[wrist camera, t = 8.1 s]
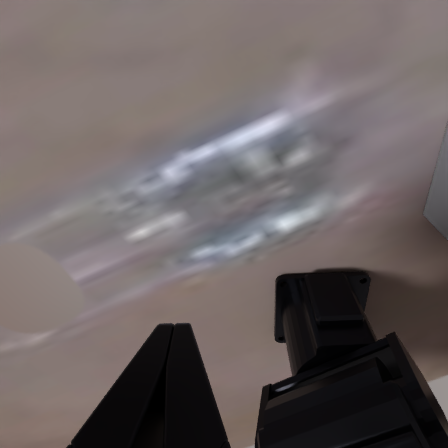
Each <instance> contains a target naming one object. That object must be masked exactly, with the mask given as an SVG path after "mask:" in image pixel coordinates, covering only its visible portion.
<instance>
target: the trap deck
mask: <svg viewBox="0 0 448 448" xmlns="http://www.w3.org/2000/svg"><path fill="white" fill-rule="evenodd" d="M423 215H424V216H425V217H426V218H427V219H428V220H429V221H430V223H431V224H432V225H433V226H434V227H435V228H436V229H437V230H438V231H439V232H440V233H441V234H442V235H443V236H444V237H445V238H446V239H447V240H448V123H447V127H446V130H445V134H444V138H443V141H442V145H441V149H440V153H439V156H438V160H437V164H436V168H435V171H434V175H433V179H432V182H431V186H430V190H429V194H428V197H427V201H426V205H425V208H424V212H423Z"/></svg>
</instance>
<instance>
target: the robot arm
mask: <svg viewBox="0 0 448 448" xmlns="http://www.w3.org/2000/svg"><path fill="white" fill-rule="evenodd" d="M362 278H364V279H363V280H360V279H362ZM370 281H371V279H370V277H369V275H368V273H366V272H363V271H362V272H340V273H318V274H296V275H281V276H278V277H277V278H276V281H275V326H274V336H275V341H276V342H278V343H286V345H287V351H288V356H289V362H290V367H291V372H292V377H289V378H287V379H284V380H282V381H280V382H277V383H275V384H268V385H266V386H264V387H263V388H262V395H261V402H260V409H259V416H258V423H257V430H256V437H255V448H448V421H447V419H446V417H445V415H444V412H443V410H442V409H441V406H440V405H439V404H438V401H437V399H436V398H435V396H434V394H433V392H432V391H431V389H430V387H429V385H428V383H427V382H426V380H425V378H424V376H423V375H422V373H421V371H420V370H419V368H418V367H417V365H416V364H415V362H414V361H413V359H412V358H411V356H410V355H409V353H408V352H407V350H406V348H405V347H404V345H403V344H402V342H401V341H400V339H399V338H398V336H397V335H396V333H395V332H393V333H390V334H388V335H386V337H385V338H383V339H381V340H378V341H377V339H376V336H375V334H374V332H373V330H372V328H371V326H370V323H369V321H368V319H367V317H366V315H365V313H364V310H365V306H366V301H367V296H368V291H369V286H370ZM281 282H285V283H281ZM280 336H282V337H280ZM66 448H231V447H230V443H229V442H228V438H227V435H226V432H225V429H224V426H223V422H222V419H221V416H220V413H219V410H218V407H217V404H216V401H215V398H214V395H213V392H212V388H211V385H210V382H209V379H208V376H207V373H206V370H205V367H204V364H203V361H202V358H201V354H200V351H199V348H198V345H197V342H196V339H195V336H194V333H193V330H192V327H191V324H190V323H176V324H175V325H174V324H172V323H164V324H159V325H157V326H156V328H155V329H154V330H153V332H152V333H151V334H150V336H149V337H148V339H147V340H146V341H145V343H144V344H143V345H142V347H141V348H140V349H139V351H138V352H137V353H136V355H135V356H134V357H133V359H132V360H131V361H130V363H129V364H128V365H127V367H126V368H125V370H124V371H123V372H122V374H121V375H120V376H119V378H118V379H117V380H116V382H115V383H114V384H113V386H112V387H111V388H110V390H109V391H108V392H107V394H106V395H105V396H104V398H103V399H102V400H101V402H100V403H99V405H98V406H97V407H96V409H95V410H94V411H93V413H92V414H91V415H90V417H89V418H88V419H87V421H86V422H85V423H84V425H83V426H82V427H81V429H80V430H79V431H78V433H77V434H76V435H75V437H74V438H73V440H72V441H71V444H69V445H68V446H67V447H66Z"/></svg>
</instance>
